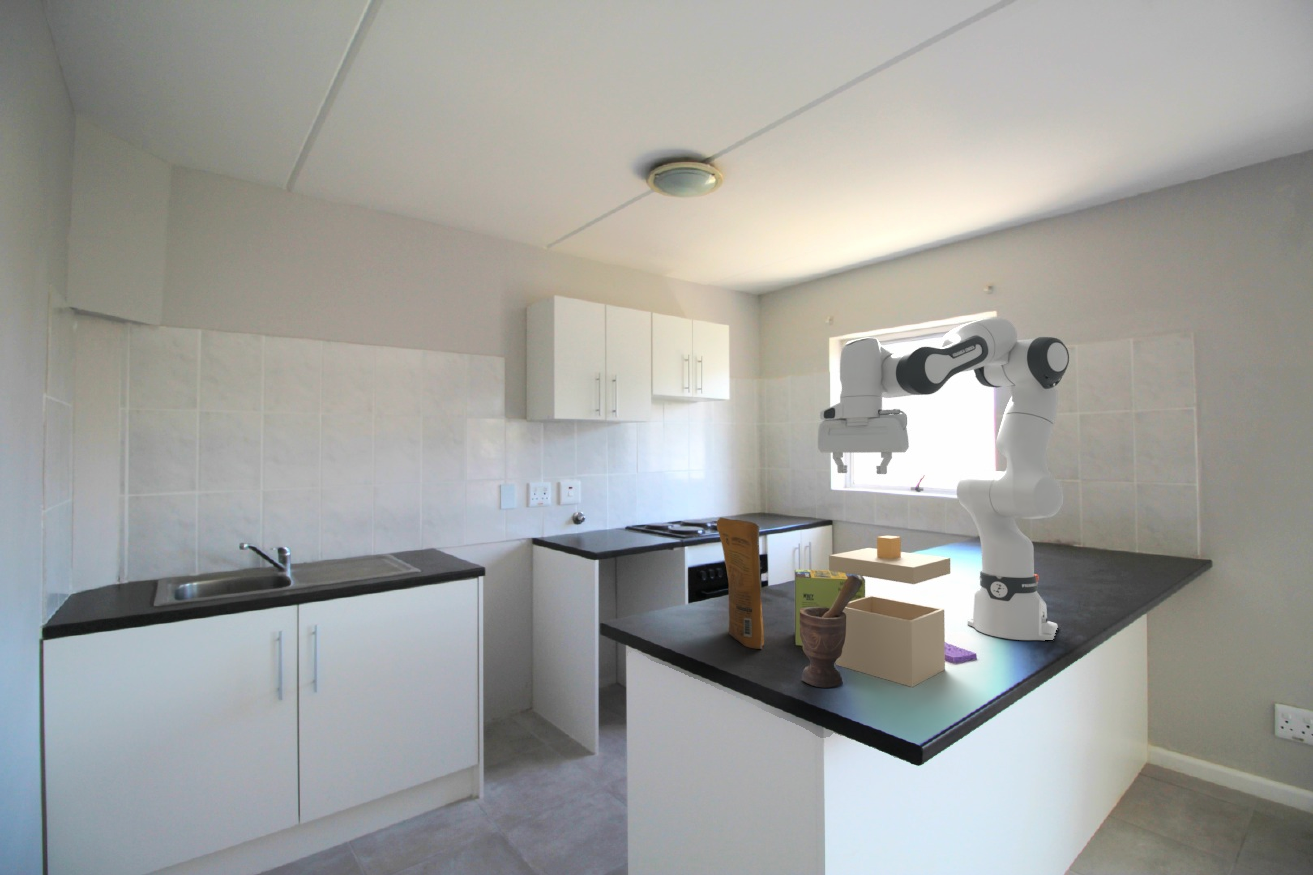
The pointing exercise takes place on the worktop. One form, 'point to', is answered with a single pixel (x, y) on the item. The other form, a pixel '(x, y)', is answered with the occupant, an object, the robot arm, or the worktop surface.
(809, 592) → the protein box
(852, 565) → the carton lid
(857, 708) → the worktop surface
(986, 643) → the worktop surface
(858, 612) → the carton
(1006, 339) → the robot arm
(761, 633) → the pancake mix bag
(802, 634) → the mortar and pestle
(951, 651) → the sponges
